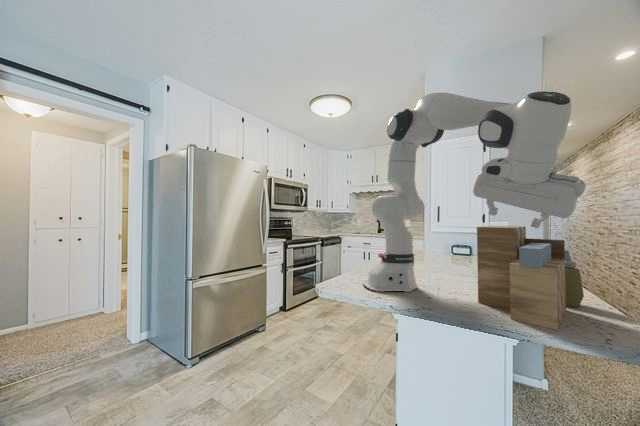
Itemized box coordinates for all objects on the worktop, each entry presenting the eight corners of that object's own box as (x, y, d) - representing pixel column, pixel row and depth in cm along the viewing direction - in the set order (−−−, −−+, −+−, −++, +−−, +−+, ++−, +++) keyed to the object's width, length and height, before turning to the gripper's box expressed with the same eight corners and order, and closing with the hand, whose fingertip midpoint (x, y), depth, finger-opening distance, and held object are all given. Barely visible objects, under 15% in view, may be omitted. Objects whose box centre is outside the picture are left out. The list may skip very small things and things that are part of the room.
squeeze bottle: (563, 299, 91) (562, 248, 91) (591, 307, 83) (590, 251, 83) (544, 301, 89) (543, 249, 90) (570, 309, 81) (569, 252, 82)
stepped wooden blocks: (557, 330, 67) (555, 230, 67) (468, 308, 83) (467, 228, 83) (566, 308, 82) (564, 227, 83) (490, 294, 98) (489, 225, 98)
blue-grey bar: (540, 268, 68) (540, 249, 68) (519, 265, 71) (519, 247, 71) (551, 259, 80) (551, 243, 81) (533, 258, 84) (532, 242, 84)
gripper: (592, 174, 54) (569, 229, 60) (486, 158, 68) (476, 204, 75) (585, 183, 51) (561, 241, 57) (475, 165, 65) (466, 212, 72)
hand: (512, 220), depth 66 cm, fingers open, 8 cm apart
